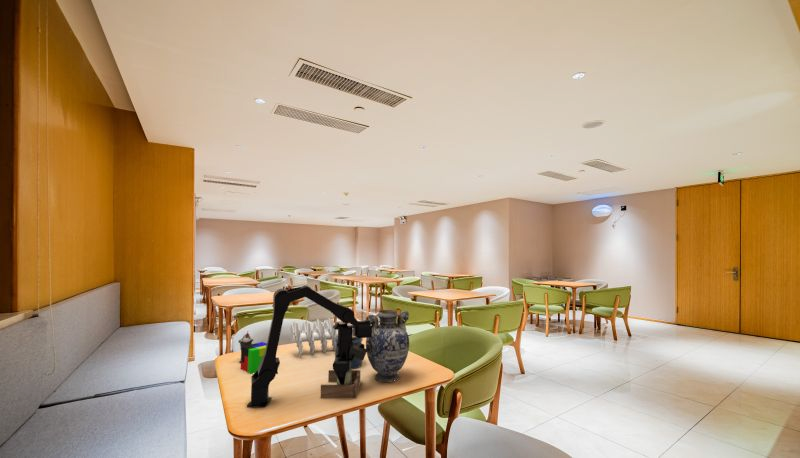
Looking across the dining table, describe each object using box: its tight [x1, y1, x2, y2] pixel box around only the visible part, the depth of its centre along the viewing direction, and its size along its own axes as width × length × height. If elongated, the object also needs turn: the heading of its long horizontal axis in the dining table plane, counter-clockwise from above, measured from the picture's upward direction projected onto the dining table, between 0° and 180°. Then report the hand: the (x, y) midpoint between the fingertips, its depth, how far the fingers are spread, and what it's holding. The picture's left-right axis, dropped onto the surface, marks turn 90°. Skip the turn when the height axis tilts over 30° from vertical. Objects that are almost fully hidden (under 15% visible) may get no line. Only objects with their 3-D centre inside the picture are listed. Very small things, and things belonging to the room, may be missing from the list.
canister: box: [334, 331, 364, 370], centre depth 159 cm, size 13×13×18 cm
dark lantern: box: [238, 332, 254, 364], centre depth 162 cm, size 7×7×15 cm
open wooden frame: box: [319, 369, 361, 399], centre depth 131 cm, size 16×13×4 cm
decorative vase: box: [365, 309, 410, 383], centre depth 144 cm, size 21×19×28 cm
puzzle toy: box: [240, 341, 267, 375], centre depth 153 cm, size 10×10×10 cm
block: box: [336, 369, 353, 385], centre depth 131 cm, size 5×5×7 cm
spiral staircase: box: [289, 317, 338, 357], centre depth 177 cm, size 18×18×25 cm
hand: (344, 380), depth 131 cm, fingers open, 9 cm apart
